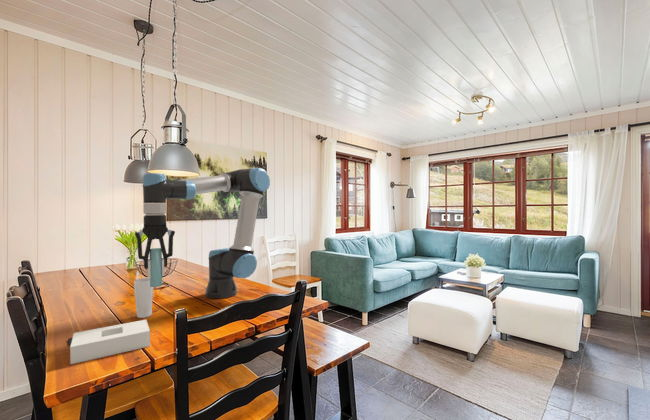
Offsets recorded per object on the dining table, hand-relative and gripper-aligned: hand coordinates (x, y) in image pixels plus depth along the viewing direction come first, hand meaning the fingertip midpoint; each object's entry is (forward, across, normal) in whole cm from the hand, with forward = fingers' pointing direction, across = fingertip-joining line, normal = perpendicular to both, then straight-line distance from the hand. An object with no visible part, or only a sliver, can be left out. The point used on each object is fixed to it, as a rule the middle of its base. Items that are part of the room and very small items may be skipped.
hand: (156, 276), depth 119 cm
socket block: (+18, +14, +13) cm, 27 cm away
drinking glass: (+19, +3, -13) cm, 23 cm away
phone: (+19, +19, 0) cm, 27 cm away
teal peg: (+4, 0, 0) cm, 4 cm away
